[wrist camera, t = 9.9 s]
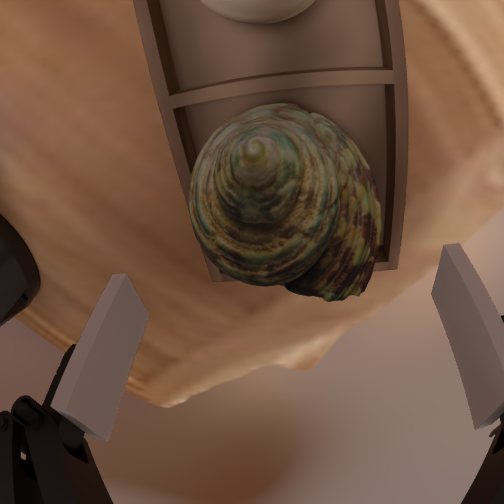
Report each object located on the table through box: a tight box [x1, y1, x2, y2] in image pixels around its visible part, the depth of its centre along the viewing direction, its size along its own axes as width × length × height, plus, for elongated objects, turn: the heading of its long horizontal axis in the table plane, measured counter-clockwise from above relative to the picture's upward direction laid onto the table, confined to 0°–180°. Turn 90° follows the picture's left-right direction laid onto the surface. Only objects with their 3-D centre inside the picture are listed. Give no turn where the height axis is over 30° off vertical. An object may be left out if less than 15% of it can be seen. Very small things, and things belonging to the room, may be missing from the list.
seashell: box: [188, 103, 382, 302], centre depth 17 cm, size 11×11×10 cm
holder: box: [133, 0, 408, 282], centre depth 16 cm, size 14×27×3 cm, turn 10°
